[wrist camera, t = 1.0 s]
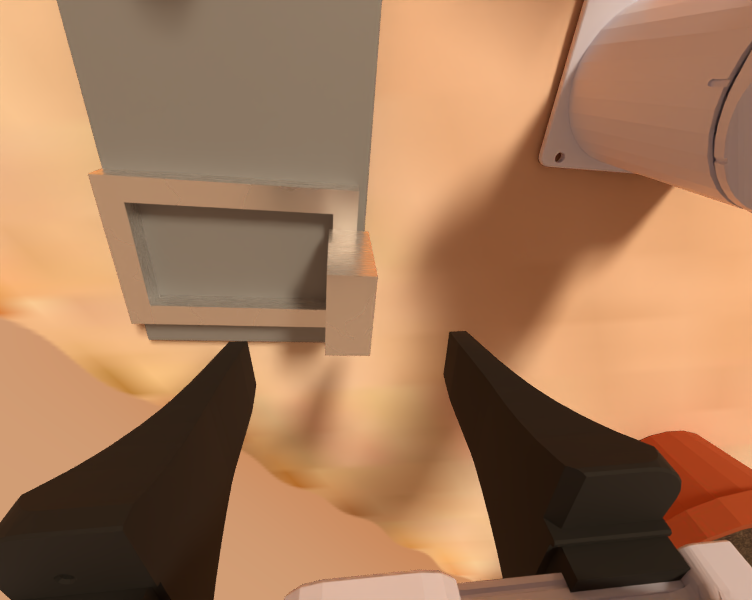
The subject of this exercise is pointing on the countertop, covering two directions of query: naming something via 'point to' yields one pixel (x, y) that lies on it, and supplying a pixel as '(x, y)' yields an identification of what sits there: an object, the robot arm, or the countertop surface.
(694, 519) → the potted plant
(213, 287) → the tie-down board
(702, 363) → the countertop surface
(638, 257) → the countertop surface
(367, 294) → the beige open rectangular frame
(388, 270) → the countertop surface
